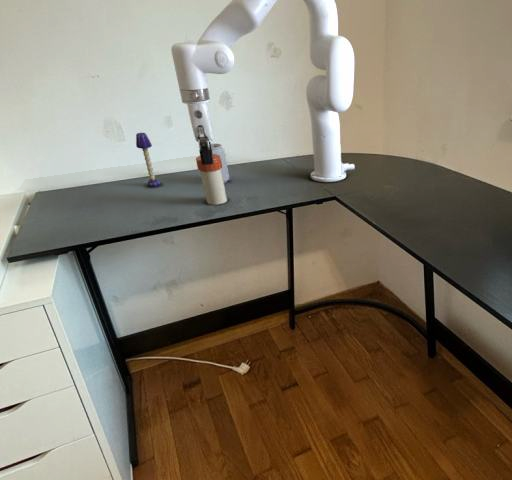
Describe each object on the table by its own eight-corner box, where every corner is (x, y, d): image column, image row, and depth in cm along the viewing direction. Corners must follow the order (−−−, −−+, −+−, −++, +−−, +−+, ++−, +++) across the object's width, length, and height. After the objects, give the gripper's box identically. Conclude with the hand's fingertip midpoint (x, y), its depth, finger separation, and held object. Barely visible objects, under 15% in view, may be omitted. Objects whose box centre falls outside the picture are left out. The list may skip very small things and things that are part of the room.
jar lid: (220, 163, 145) (218, 153, 143) (223, 170, 140) (221, 159, 138) (197, 166, 143) (194, 155, 141) (199, 172, 138) (196, 161, 136)
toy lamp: (164, 183, 162) (150, 131, 152) (159, 187, 158) (145, 135, 148) (150, 183, 162) (135, 131, 152) (145, 187, 158) (130, 135, 148)
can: (232, 178, 166) (226, 142, 159) (225, 185, 160) (218, 148, 153) (212, 177, 166) (205, 142, 159) (204, 184, 161) (196, 147, 153)
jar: (225, 196, 151) (217, 156, 143) (228, 203, 146) (220, 161, 138) (205, 199, 149) (196, 158, 141) (208, 205, 144) (198, 163, 137)
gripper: (209, 100, 124) (221, 166, 134) (208, 90, 137) (219, 151, 147) (179, 101, 122) (194, 168, 132) (181, 91, 135) (194, 153, 146)
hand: (207, 159), depth 140 cm, fingers open, 9 cm apart
